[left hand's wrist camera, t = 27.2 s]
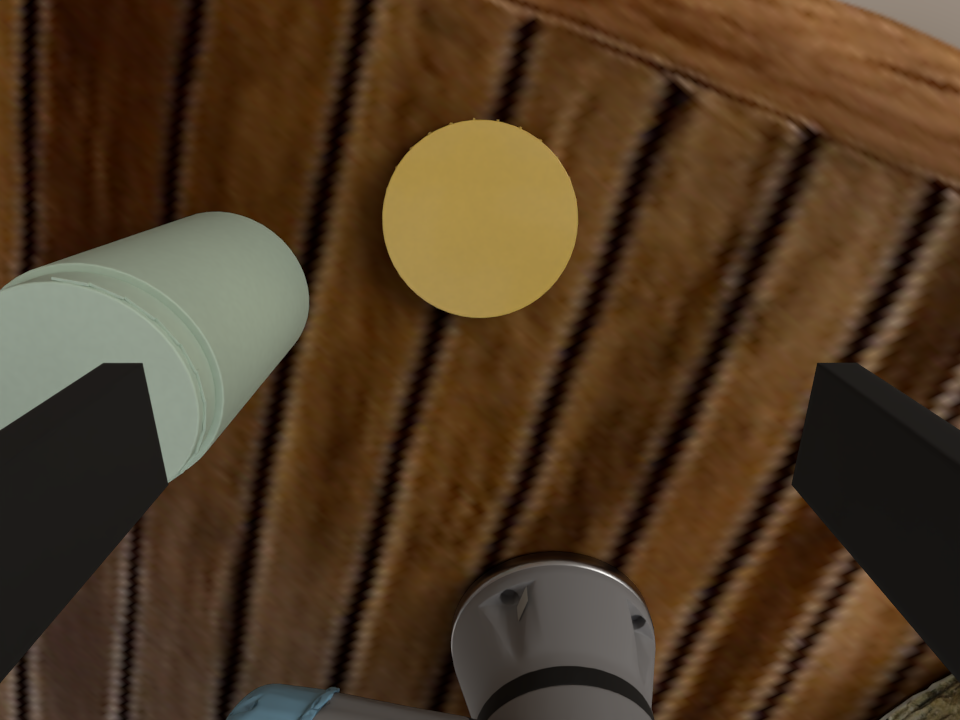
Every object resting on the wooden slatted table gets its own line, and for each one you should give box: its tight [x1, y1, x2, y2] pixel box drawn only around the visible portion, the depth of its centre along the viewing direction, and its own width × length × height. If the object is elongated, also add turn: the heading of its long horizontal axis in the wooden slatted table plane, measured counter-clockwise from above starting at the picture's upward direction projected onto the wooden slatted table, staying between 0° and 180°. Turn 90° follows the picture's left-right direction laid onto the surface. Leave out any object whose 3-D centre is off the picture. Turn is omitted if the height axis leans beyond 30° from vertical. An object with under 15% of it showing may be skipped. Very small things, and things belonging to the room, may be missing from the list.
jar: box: [0, 212, 309, 483], centre depth 31 cm, size 10×10×16 cm
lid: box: [382, 118, 578, 318], centre depth 36 cm, size 11×11×2 cm
